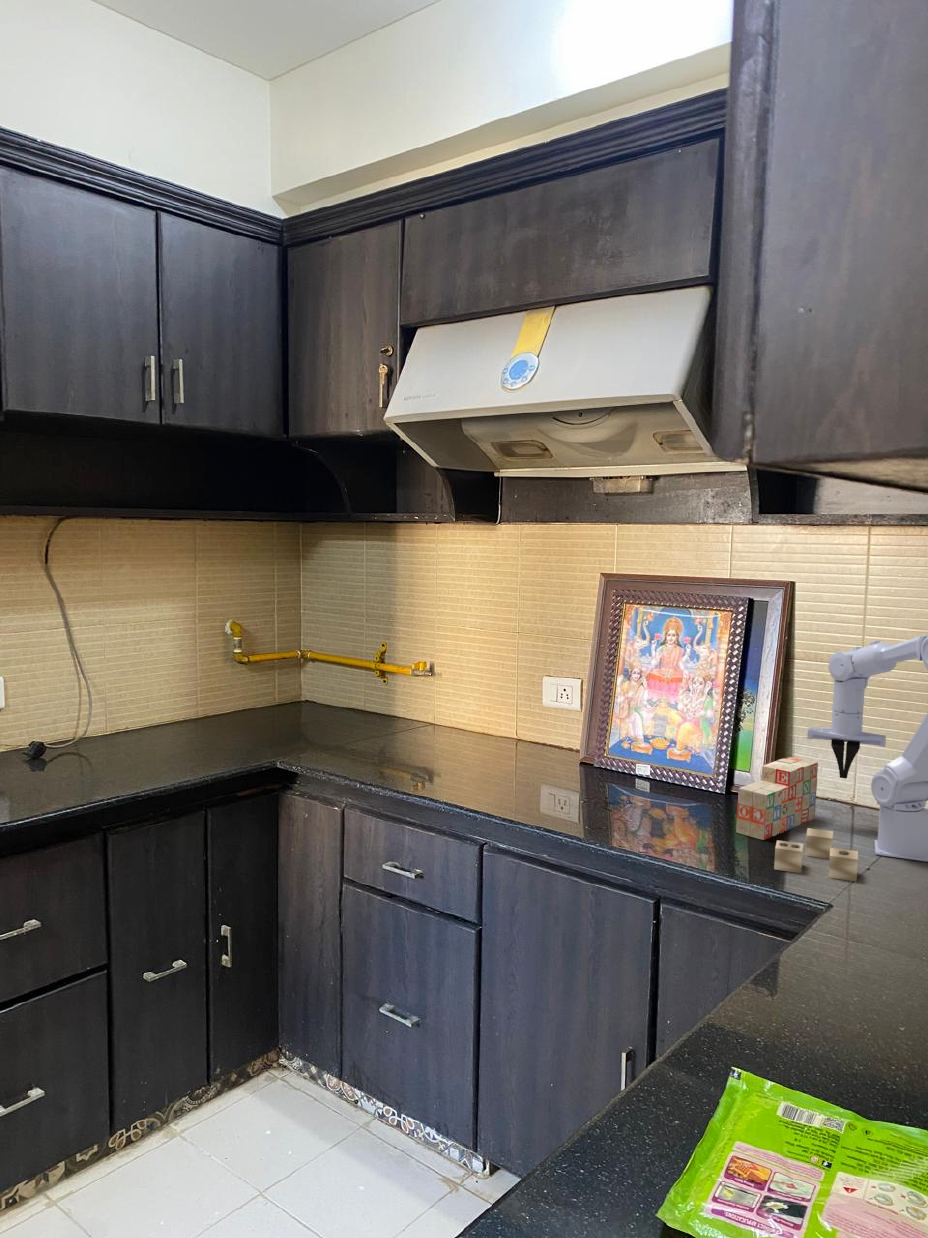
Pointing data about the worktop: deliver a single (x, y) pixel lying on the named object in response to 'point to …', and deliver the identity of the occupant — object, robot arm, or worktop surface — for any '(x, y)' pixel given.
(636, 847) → the worktop surface
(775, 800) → the stack of blocks
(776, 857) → the two-dot maple block
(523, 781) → the worktop surface
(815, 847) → the plain maple block
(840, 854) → the one-dot maple block
